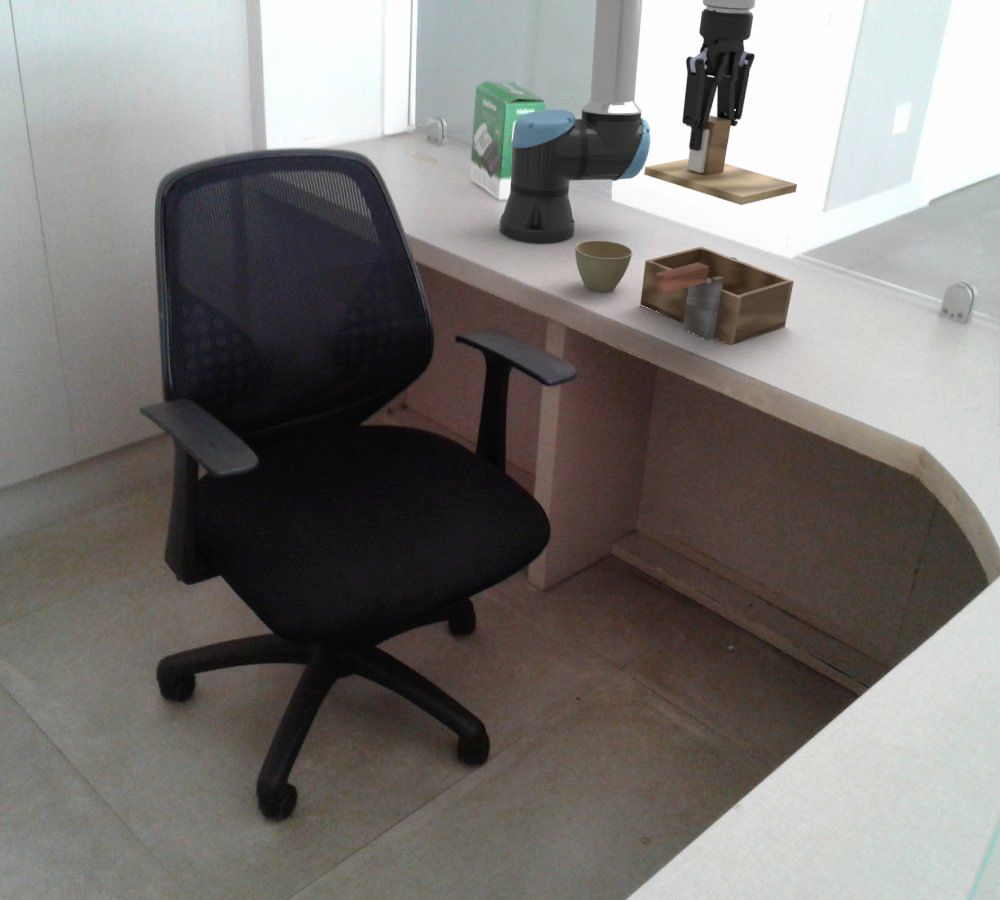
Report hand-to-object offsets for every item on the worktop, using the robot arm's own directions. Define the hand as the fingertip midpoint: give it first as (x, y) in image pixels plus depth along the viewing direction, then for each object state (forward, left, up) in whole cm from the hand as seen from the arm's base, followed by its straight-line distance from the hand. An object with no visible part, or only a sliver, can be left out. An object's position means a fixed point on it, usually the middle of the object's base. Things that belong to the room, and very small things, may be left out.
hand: (705, 168), depth 165 cm
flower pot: (-17, -4, -25) cm, 30 cm away
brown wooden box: (+3, +3, -25) cm, 25 cm away
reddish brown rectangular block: (+7, -11, -15) cm, 20 cm away
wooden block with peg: (+3, 0, -2) cm, 3 cm away
